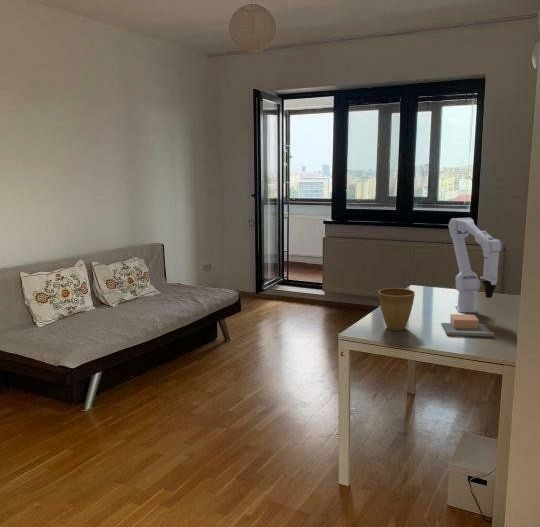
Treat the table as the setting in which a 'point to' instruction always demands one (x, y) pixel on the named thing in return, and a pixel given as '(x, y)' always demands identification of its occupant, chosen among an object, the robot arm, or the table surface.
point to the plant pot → (396, 307)
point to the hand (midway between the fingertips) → (488, 297)
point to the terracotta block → (464, 321)
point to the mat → (467, 331)
